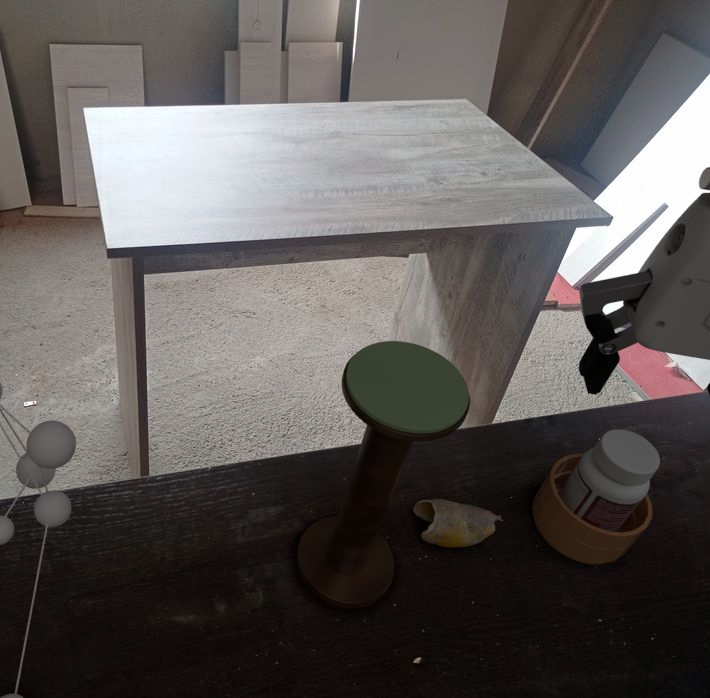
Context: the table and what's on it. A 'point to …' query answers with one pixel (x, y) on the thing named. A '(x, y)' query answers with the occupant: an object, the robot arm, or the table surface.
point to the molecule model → (40, 484)
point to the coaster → (407, 387)
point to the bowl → (582, 522)
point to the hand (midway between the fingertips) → (652, 392)
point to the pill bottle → (611, 479)
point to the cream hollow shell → (455, 523)
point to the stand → (360, 519)
